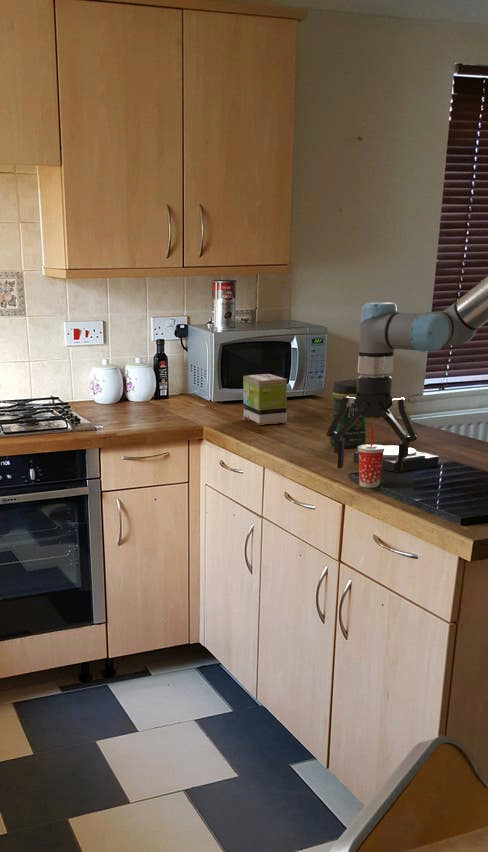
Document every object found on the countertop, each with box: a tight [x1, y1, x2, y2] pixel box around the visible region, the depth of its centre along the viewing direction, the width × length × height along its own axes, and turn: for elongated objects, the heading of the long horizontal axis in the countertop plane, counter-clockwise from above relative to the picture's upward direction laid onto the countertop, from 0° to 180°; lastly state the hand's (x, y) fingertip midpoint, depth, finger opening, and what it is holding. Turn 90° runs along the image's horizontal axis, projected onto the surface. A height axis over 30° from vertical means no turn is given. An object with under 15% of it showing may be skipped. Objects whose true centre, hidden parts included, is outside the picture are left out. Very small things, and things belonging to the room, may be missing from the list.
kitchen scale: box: [352, 445, 440, 473], centre depth 223 cm, size 16×14×3 cm
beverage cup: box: [357, 424, 386, 489], centre depth 200 cm, size 6×6×14 cm
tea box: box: [242, 373, 288, 423], centre depth 288 cm, size 15×10×15 cm, turn 15°
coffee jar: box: [329, 378, 367, 449], centre depth 244 cm, size 10×8×19 cm
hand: (369, 469), depth 201 cm, fingers open, 13 cm apart
